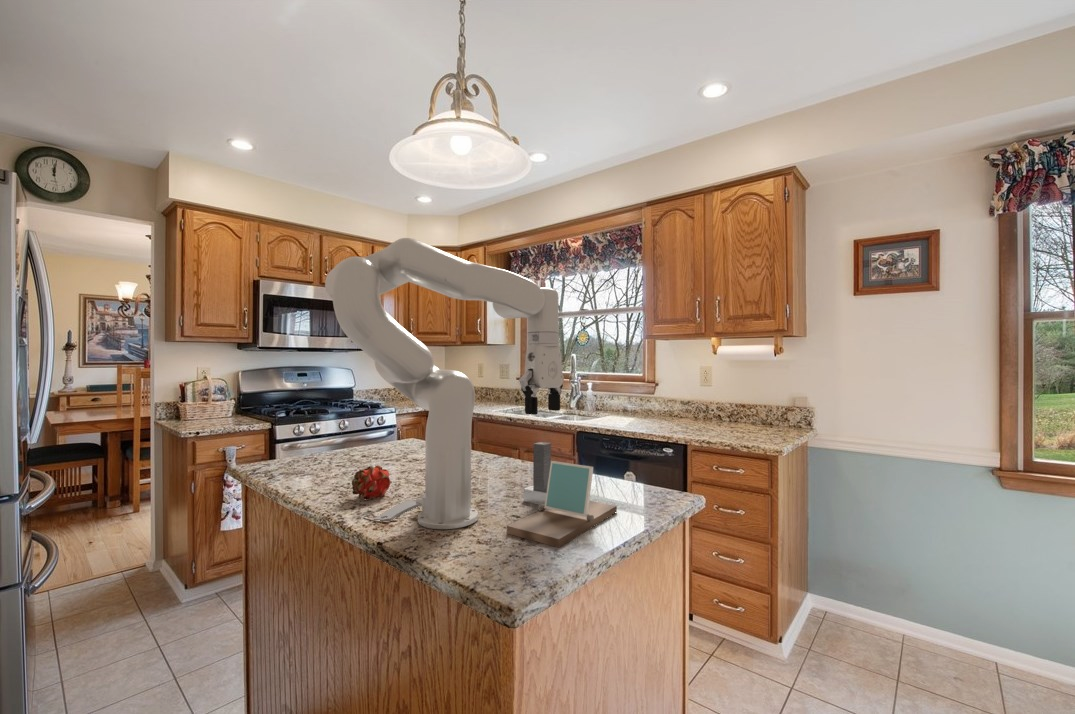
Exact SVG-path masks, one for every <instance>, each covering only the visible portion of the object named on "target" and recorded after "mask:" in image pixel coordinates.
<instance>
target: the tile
mask: <svg viewBox="0 0 1075 714" xmlns="http://www.w3.org/2000/svg"><path fill="white" fill-rule="evenodd" d="M593 473H594V466H592V465H591V466H590V465H584V464H583V465H582V464H577V463H576V464H575V463H568V462H564V461H562V462H561V461H556V460H551V465H550V472H549V479H548V486H547V493H546V500H545V507H544V508H547V509H552V510H556V511H561V512H565V513H570V514H574V515H579V516H584V517H587V515H588V507H589V501H590V499H591V498H590V497H591V491H592V490H591V489H592V482H593V475H594V474H593Z"/></svg>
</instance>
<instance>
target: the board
mask: <svg viewBox="0 0 1075 714" xmlns="http://www.w3.org/2000/svg"><path fill="white" fill-rule="evenodd" d="M617 506H618V505H615V504H610V503H609V504H608V503H604V502H599V501H594V500H593V501H592V500H589V507H588V515H587V517H584V516H579V515H574V514H570V513H565V512H561V511H556V510H552V509H547V508H544V507H545V505H543V504H538V511H536V512H534V513H531V514H530V515H527V516H525V517H523V518H521V519H519V520H517V521H515V522H512V523H510V524H508V525H506V534H508V535H510V536H515V537H518V538H523V539H526V540H530V541H532V542H536V543H541V544H544V545H549V546H552V547H555V546H556V548H560V547H562V546H564V545H566V544H567V543H568V541H569V542H570V541H573V539H576V538H577V537H578V536H581V535H582V534H584V533H585V532H587V531H589V530H591V529H592V528H594V527H595V526H597V525H599V524H600V523H602V522H603V521H602V520H604V519H605V520H607V519H608V518H607V517H609V516H610V517H612V516H613V515H612V514H614V513H615V512H618V511H617ZM615 514H616V513H615ZM615 514H614V515H615ZM611 515H612V516H611ZM610 517H609V518H610ZM606 518H607V519H606ZM605 520H604V521H605ZM601 521H602V522H601ZM599 522H600V523H599ZM598 523H599V524H598ZM596 524H597V525H596ZM594 525H595V526H594ZM593 526H594V527H593ZM591 527H592V528H591ZM588 529H589V530H588ZM583 532H584V533H583Z"/></svg>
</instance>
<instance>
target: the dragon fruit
mask: <svg viewBox="0 0 1075 714" xmlns="http://www.w3.org/2000/svg"><path fill="white" fill-rule="evenodd" d="M392 483H393V482H392V481H391V479H390V472H389V470H388V469H387V468H383V467H382V466H381V465H375V466H372V465H371V466H368V467H366V468H364V469H359V470H358V471H356V472H355V474H354V476H353V479H352V480H351V486H352V490H353V491H351V492H352V494H353V495H358V497H359V498H361V499H362V500H364V499H368V500H367V501H369V500H370V499H371V498H375V499H382V498H383V497H384V496H385V495H386V493H387V491H388V489H390V486H391V484H392ZM383 495H384V496H383Z"/></svg>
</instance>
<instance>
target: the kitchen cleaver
mask: <svg viewBox="0 0 1075 714" xmlns="http://www.w3.org/2000/svg"><path fill="white" fill-rule="evenodd" d="M406 500H407V501H404V502H403V503H400V504H398V505H396V506H394V507H393V508H391V509H389V510H387V511H386V512H384V513H382V514H381V515H380V516H378V517H376V518H373V519H374V520H380V521H391V520H393V519H394V518H395V517H397V516H398V517H400V516H402V515H403V513H404V514H405V512H406V513H408V512H410V511H412V510H414V509H413V508H415V509H417V508H419V507H418V506H420V507H422V506H421V505H418V504H416V499H406ZM416 507H417V508H416ZM411 509H412V510H411ZM409 510H410V511H409ZM407 511H408V512H407ZM401 514H402V515H401ZM399 515H400V516H399ZM382 517H386V518H382ZM398 517H397V518H398ZM395 519H396V518H395ZM395 519H394V520H395ZM394 520H393V521H394Z"/></svg>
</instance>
